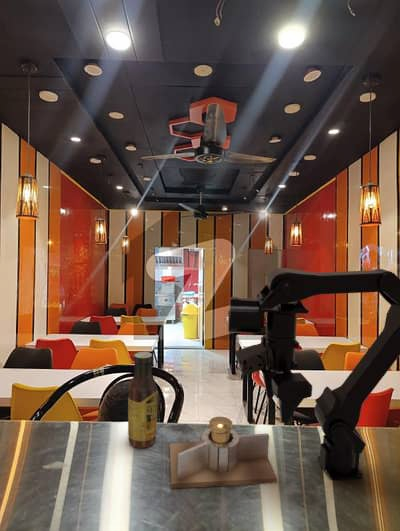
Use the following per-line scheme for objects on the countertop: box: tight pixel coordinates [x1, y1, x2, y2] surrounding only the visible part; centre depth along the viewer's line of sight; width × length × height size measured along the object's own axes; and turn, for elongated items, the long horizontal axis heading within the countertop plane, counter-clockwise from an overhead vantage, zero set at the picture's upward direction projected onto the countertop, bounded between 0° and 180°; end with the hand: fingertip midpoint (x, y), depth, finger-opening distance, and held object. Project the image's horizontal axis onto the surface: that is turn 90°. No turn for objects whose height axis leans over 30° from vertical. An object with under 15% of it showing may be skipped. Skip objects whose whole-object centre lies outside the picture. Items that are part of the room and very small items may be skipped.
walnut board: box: [169, 441, 278, 490], centre depth 74 cm, size 20×12×1 cm, turn 96°
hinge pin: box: [208, 416, 233, 445], centre depth 73 cm, size 5×5×8 cm
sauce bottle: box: [127, 351, 158, 449], centre depth 80 cm, size 7×6×20 cm
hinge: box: [178, 427, 270, 480], centre depth 72 cm, size 19×9×5 cm, turn 96°
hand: (276, 409), depth 72 cm, fingers open, 9 cm apart
